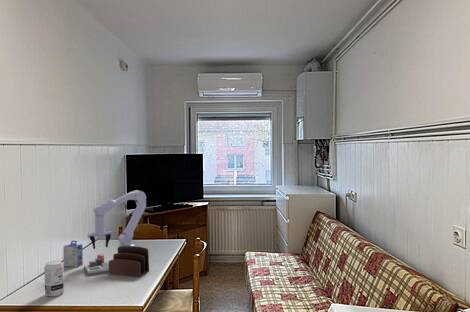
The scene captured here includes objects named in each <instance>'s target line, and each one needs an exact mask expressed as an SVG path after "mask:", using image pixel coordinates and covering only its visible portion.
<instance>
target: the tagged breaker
mask: <svg viewBox="0 0 470 312" xmlns="http://www.w3.org/2000/svg"><path fill="white" fill-rule="evenodd" d="M88 263H89V264H88V265H89V267H95V266H96V262H95V260H91V261H89V262H88Z"/></svg>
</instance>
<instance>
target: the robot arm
mask: <svg viewBox="0 0 470 312" xmlns="http://www.w3.org/2000/svg"><path fill="white" fill-rule="evenodd" d="M130 200H131V201H134V202H135V204H136V208H135V209H134V212H133V213H132V215H131V217H130V219H129V222H128V223H127V226H126V227H125V229H124V230H123V231H122V232H121V234H119V236H118V239H117V240H118V242H119V244H118V247H121V246H135V244H134V243H133V237H134V232H135V229H136V228H137V226H138V224H139V222H140V220H141V218H142V215H143V214H144V212H145V210H146V209H147V196H146V193H145V192H144V191H142V190H138V189H136V190H133V191H130V192H128V193H125V194H124V195H122V196H120V197H119V198H116V199H108V200H107V201H106V202H104V203H101V204H100V205H96V206H95V207H94V209H93V213H94V232H92V233H91V232H90V233H87V234H86V235H87V238H88V239H90V240H89V241H91V244H92V248H93V250H96V237H103V236H104V237H105V247H106V248H108V247H109V242H110V240H111V238H112V237H111V236H113V232H114V231H113V230H111V231H110V230H109V231H108V230H107V231H106V222H105V221H106V220H105V219H106V218H105V215H106V213H108V212H110V211H113V210H114V209H116V208H117V207H118V205H120V204H122V203H125V202H127V201H130Z"/></svg>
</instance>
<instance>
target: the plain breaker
mask: <svg viewBox="0 0 470 312" xmlns="http://www.w3.org/2000/svg"><path fill="white" fill-rule="evenodd" d="M94 261H95V262H96V265H102V259H101V258H98V259H97V258H95V259H94Z"/></svg>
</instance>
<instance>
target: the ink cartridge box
mask: <svg viewBox="0 0 470 312" xmlns="http://www.w3.org/2000/svg"><path fill="white" fill-rule="evenodd" d="M62 248H63V249H62V251H63V262H62V263H63V265H64V267H76V268H77V267H80V266H83V263H84V260H83V259H84V258H83V255H84V254H83V244H78V241H77V240H71V241H70V243H68V244H65V245H63V247H62Z"/></svg>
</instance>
